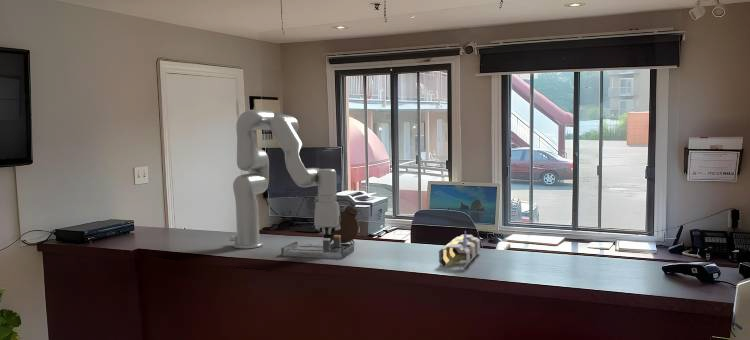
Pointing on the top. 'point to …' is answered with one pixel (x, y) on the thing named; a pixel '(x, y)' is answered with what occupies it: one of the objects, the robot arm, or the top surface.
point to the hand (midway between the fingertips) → (328, 243)
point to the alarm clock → (347, 223)
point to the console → (316, 251)
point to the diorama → (460, 248)
